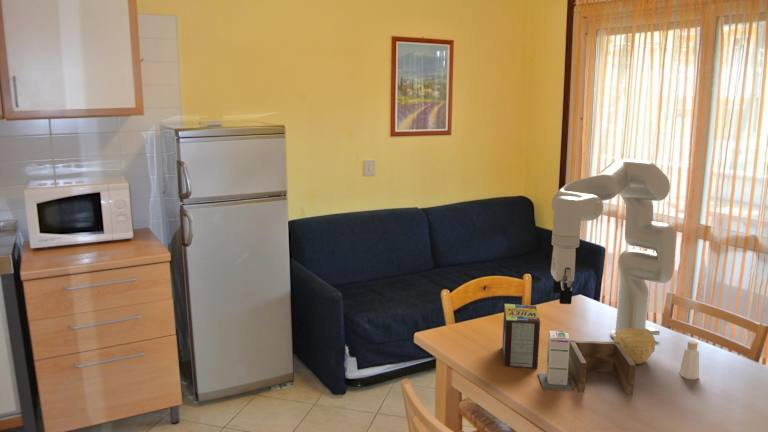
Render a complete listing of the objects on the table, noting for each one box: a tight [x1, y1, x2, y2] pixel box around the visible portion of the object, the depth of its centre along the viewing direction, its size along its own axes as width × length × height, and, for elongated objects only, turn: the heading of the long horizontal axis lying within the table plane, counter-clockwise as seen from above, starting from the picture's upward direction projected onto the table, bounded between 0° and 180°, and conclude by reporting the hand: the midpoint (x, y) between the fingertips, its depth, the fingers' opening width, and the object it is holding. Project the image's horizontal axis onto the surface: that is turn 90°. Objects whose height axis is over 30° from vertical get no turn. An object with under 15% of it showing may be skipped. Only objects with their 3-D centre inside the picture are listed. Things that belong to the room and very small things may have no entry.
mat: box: [537, 372, 576, 391], centre depth 182 cm, size 9×9×1 cm
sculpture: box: [612, 328, 657, 365], centre depth 198 cm, size 12×12×11 cm
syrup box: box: [545, 330, 571, 385], centre depth 181 cm, size 6×6×14 cm
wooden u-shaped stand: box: [568, 339, 637, 396], centre depth 183 cm, size 15×16×9 cm
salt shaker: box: [678, 339, 700, 380], centre depth 187 cm, size 5×5×11 cm
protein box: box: [501, 303, 541, 369], centre depth 198 cm, size 10×15×16 cm
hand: (561, 298), depth 177 cm, fingers open, 9 cm apart
